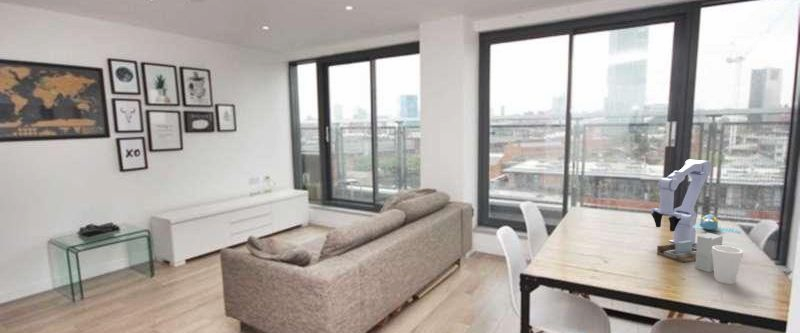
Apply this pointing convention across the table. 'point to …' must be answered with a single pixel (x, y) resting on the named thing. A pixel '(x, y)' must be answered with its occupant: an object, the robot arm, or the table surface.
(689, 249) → the door panel
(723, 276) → the foam cup
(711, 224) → the blue toy animal
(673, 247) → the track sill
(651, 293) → the table surface
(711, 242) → the skincare box
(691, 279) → the table surface
